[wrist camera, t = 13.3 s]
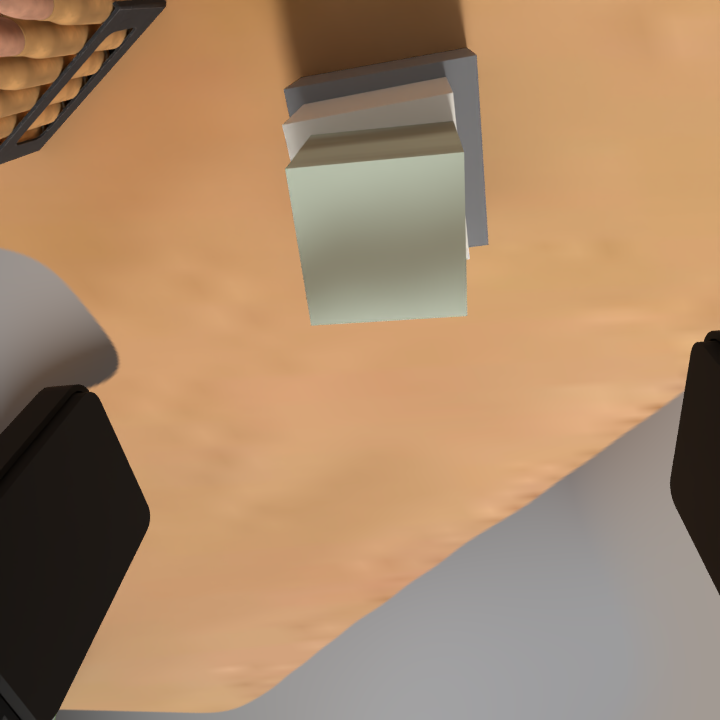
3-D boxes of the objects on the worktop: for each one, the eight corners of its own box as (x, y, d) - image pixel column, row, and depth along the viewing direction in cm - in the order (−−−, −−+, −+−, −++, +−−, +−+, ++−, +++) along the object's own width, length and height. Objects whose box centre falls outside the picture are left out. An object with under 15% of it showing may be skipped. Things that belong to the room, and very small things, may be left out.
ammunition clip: (138, -34, 27) (-26, -55, 17) (168, 3, 28) (28, 3, 18) (9, 122, 31) (-187, 180, 21) (38, 151, 32) (-138, 221, 22)
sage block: (310, 134, 21) (285, 168, 17) (453, 120, 21) (464, 151, 16) (329, 267, 24) (311, 325, 19) (457, 257, 23) (467, 315, 19)
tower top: (303, 104, 25) (282, 125, 21) (445, 76, 25) (453, 92, 20) (332, 238, 28) (318, 281, 24) (460, 218, 27) (469, 259, 23)
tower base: (302, 76, 29) (283, 89, 25) (466, 47, 28) (476, 55, 24) (332, 232, 33) (321, 266, 29) (478, 212, 32) (488, 244, 28)
